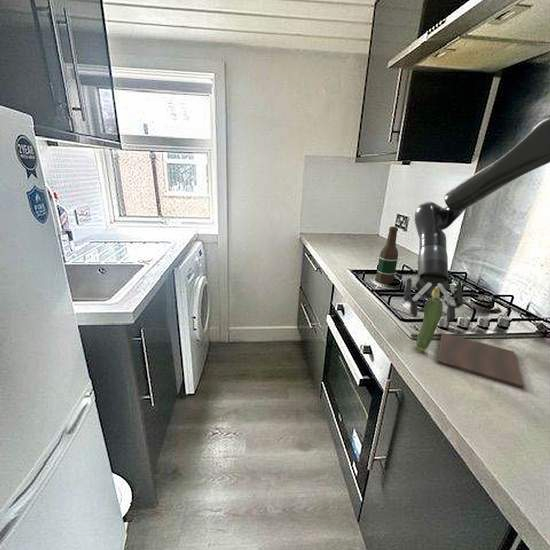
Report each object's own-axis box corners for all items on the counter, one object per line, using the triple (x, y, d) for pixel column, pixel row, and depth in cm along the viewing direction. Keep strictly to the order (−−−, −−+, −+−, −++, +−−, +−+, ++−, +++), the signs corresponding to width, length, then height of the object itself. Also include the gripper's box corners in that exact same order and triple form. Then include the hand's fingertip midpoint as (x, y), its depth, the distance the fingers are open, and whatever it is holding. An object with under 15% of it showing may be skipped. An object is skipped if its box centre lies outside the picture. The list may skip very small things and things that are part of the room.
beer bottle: (371, 280, 133) (380, 226, 124) (380, 276, 138) (389, 224, 129) (388, 285, 128) (398, 230, 119) (397, 281, 133) (407, 227, 124)
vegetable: (419, 344, 87) (434, 280, 80) (434, 351, 84) (451, 285, 77) (411, 349, 85) (426, 284, 78) (427, 357, 82) (444, 289, 74)
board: (513, 353, 84) (513, 351, 84) (522, 388, 71) (523, 385, 71) (441, 334, 92) (441, 332, 92) (438, 362, 80) (438, 360, 79)
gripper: (408, 255, 84) (406, 310, 78) (465, 261, 81) (468, 318, 75) (403, 267, 91) (400, 318, 85) (455, 272, 88) (456, 326, 81)
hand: (432, 318), depth 80 cm, fingers open, 8 cm apart
